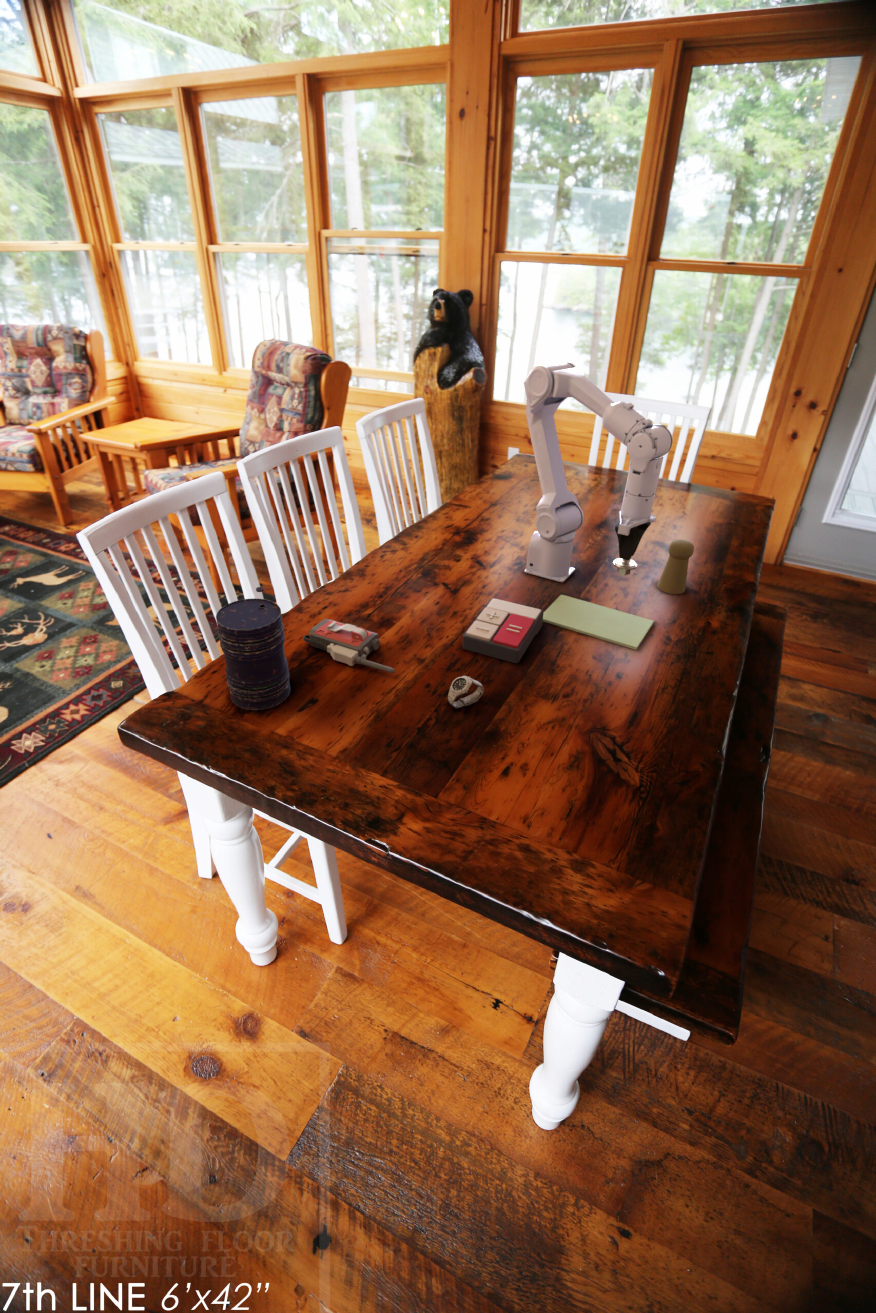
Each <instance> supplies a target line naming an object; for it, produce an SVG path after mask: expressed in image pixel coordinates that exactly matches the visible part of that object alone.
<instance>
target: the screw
mask: <svg viewBox="0 0 876 1313" xmlns="http://www.w3.org/2000/svg"><path fill="white" fill-rule="evenodd" d="M636 527H637V526H636ZM612 565H613V566H614V567H615V568H616V572H617V574H618V575H621V576H628V575H631V571H632V570H633V571H634V570H636V569H637V567H638V563H637V562H636V561H635V560H634V559H632V558H631V559H630V560H625V559H621V558H619V557H618V558H615V559H613V561H612Z"/></svg>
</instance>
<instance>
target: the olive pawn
mask: <svg viewBox="0 0 876 1313" xmlns="http://www.w3.org/2000/svg"><path fill="white" fill-rule="evenodd" d="M667 551H668V557H667V560H666V562H665V565H664V566H663V570H662V572H661V575H660V577H659V579H658V582H657V584H656V587H657V589H659V590H660V591H661V592H663V593H667V594H671V595H682V594H683V593H685V592H686V586H687V578H688V571H689V562H690V558H692V556H693V555H694V551H695V546H694V543H692V542H691V541H689V540H686V539H681V538H678V539H674V540H671V542H670V543H669V544H668V548H667Z"/></svg>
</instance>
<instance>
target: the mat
mask: <svg viewBox="0 0 876 1313" xmlns="http://www.w3.org/2000/svg"><path fill="white" fill-rule="evenodd" d="M542 623H545V624H546V623H547V624H550V625H554V626H556V627H560V628H562V629H566V630H570V631H573V632H576V633H579V634H582V635H586V636H589V637H592V638H595V639H598V640H602V641H606V642H609V643H611V644H616V645H618V646H622V647H625V648H629V649H632V650H635V651H637V650H638V648H639V646H640V645H641V643H642V642H643V641H644V639H645V637H646V636H647V634H648V633H649V631H650V630H651V628H652V626H653V625H654V624H655V620H653V619H650V618H646V617H643V616H640V615H635V614H631V613H628V612H625V611H621V610H618V609H615V608H611V607H608V606H604V605H601V604H597V603H594V602H589V601H587V600H582V599H579V598H575V597H572V596H569V595H565V594H560V595H559V596H558V597H557V598H556V599H555V600H554V601H553V602H552V603H551V604H550V605H549V606H548V607H547V609H545V611H544V613H543V621H542Z"/></svg>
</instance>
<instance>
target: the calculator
mask: <svg viewBox="0 0 876 1313" xmlns="http://www.w3.org/2000/svg"><path fill="white" fill-rule="evenodd" d="M544 612H545V611H544V610H542V609H540V608H536V607H532V606H528V605H523V604H519V603H515V602H511V601H507V600H503V599H498V598H491V599H489V601H488V602H487V603H486V605H485V606H484V607H483V609H482V610H481V611H480V612H479V614H478V615H477V617H476V618H475V619H474V620H473V622H472V623H471V624H470V625H469V626H468V628H467V629H466V631H465V632H464V633H463V634H462V645H461V646H462V647H461V648H462V649H463V650H466V651H469V652H473V653H476V654H479V655H484V656H487V657H491V658H495V659H497V660H502V661H505V662H509V663H513V664H519V662H520V661H521V659H522V657H523V656H524V655H525V652H526V651H527V649H528V648H529V647H530V645H531V643H532V642H533V640H534V638H535V636H537V635H538V633H539V632H540V630H541V629H542V626H543V613H544Z"/></svg>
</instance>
